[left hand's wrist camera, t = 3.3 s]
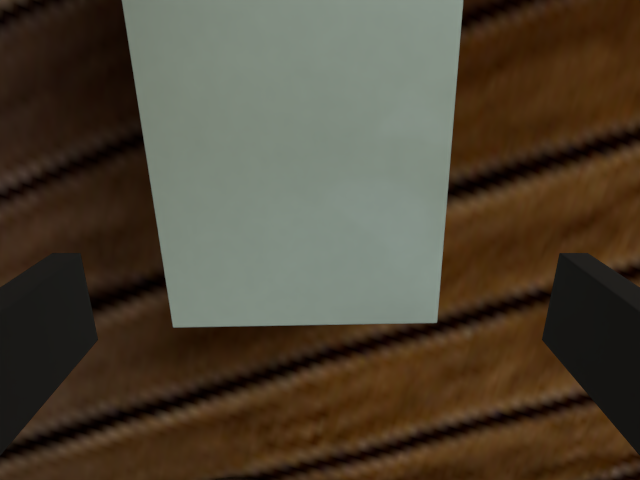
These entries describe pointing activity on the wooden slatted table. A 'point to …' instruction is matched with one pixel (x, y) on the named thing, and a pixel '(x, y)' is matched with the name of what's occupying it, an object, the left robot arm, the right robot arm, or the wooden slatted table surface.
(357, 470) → the wooden slatted table surface
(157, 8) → the cabinet
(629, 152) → the wooden slatted table surface
